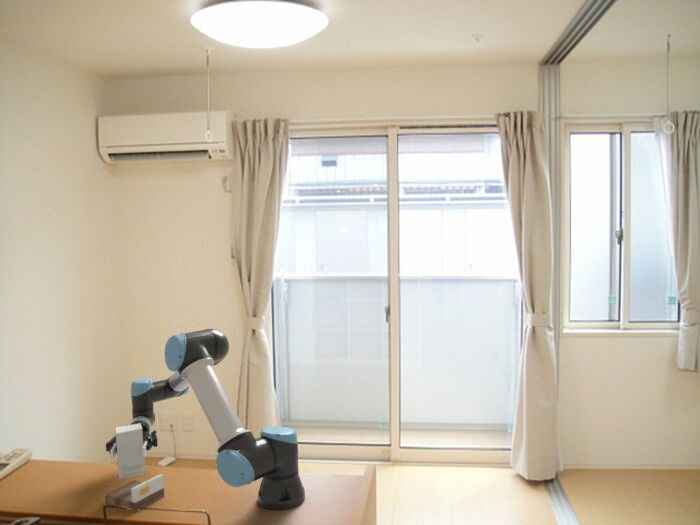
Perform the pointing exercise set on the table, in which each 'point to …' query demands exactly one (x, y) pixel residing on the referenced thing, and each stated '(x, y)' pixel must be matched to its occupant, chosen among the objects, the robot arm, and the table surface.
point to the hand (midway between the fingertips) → (127, 453)
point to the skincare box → (130, 450)
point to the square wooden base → (137, 493)
